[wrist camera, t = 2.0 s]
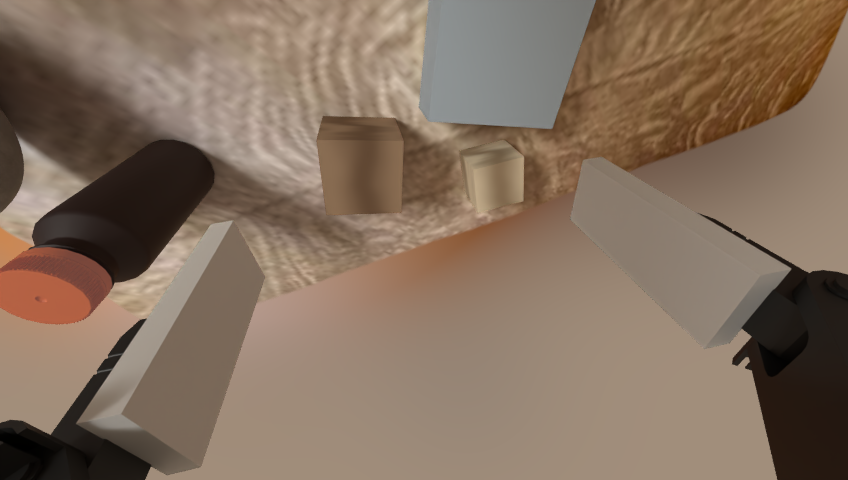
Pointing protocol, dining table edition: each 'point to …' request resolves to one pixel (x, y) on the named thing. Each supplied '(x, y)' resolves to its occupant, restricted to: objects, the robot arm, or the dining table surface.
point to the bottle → (105, 234)
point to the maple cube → (492, 175)
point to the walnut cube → (361, 165)
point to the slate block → (500, 60)
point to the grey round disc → (9, 163)
